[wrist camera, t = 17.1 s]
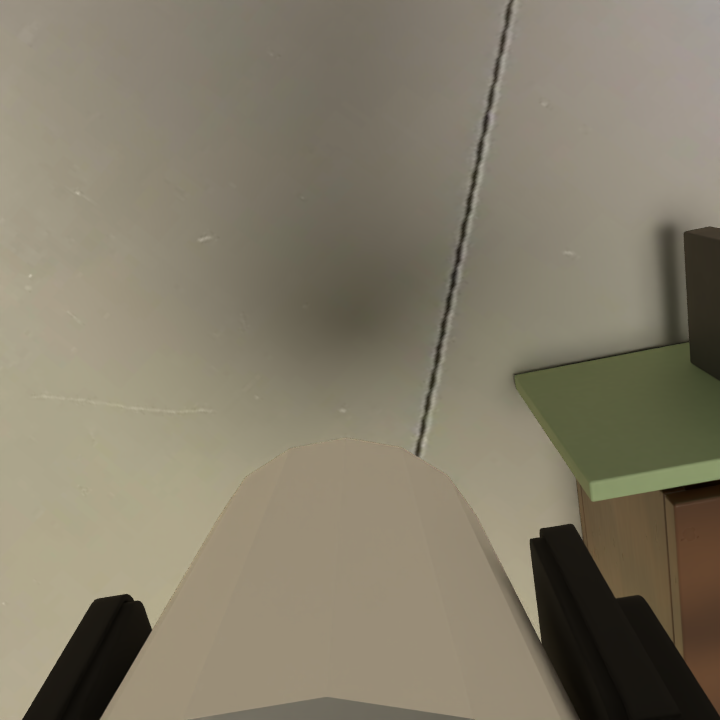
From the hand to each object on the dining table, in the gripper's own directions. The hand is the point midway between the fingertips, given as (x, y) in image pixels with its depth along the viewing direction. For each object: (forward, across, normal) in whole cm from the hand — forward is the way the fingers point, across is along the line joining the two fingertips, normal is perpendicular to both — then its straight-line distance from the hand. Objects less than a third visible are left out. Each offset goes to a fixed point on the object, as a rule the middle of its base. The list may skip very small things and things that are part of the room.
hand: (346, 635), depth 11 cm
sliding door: (+21, -12, +1) cm, 25 cm away
